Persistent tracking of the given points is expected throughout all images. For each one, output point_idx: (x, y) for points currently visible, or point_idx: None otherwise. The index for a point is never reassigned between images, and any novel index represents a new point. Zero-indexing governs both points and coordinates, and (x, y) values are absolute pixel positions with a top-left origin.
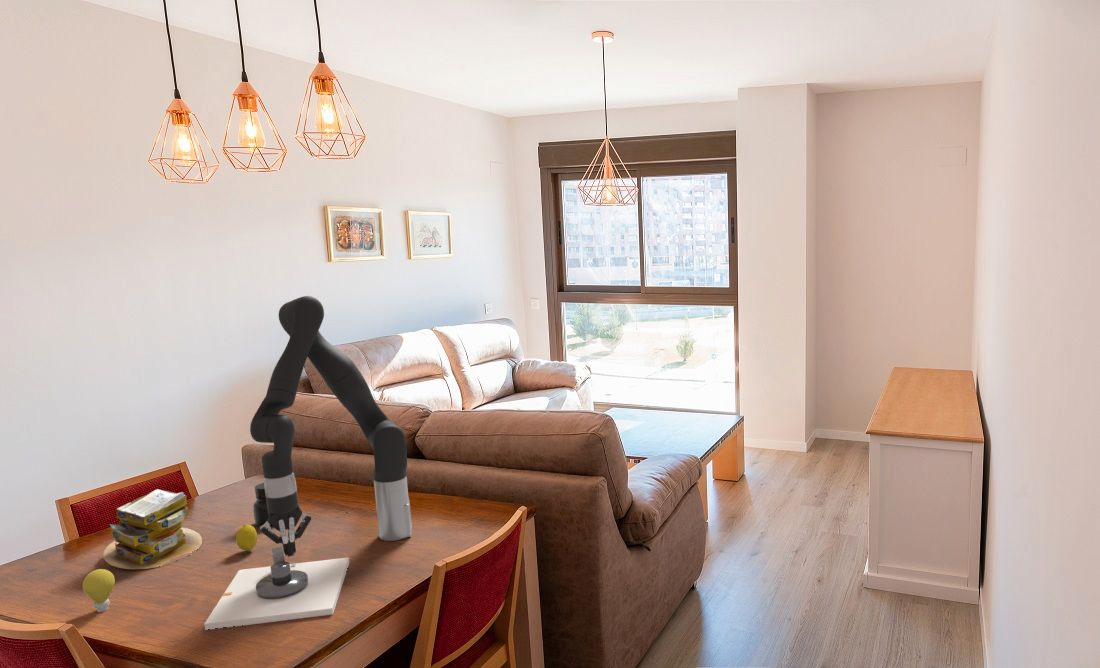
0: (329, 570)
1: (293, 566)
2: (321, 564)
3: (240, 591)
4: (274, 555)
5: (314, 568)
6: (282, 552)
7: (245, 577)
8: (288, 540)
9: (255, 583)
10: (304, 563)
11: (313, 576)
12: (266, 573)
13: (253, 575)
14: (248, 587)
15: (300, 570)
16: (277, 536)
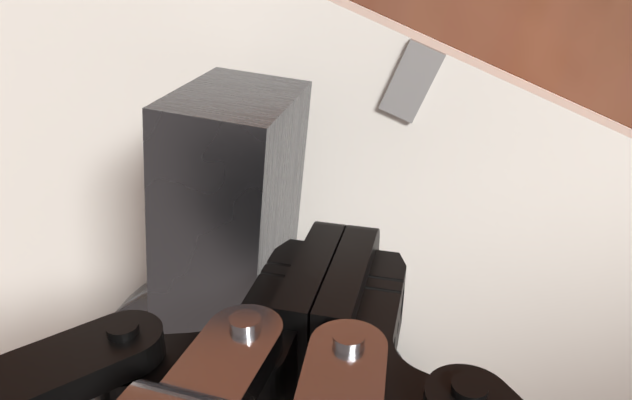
0: (623, 391)
1: (400, 115)
2: (628, 242)
3: (10, 269)
4: (163, 326)
5: (541, 277)
6: None
7: (18, 59)
8: (316, 323)
9: (94, 220)
10: (509, 111)
11: None
12: None
13: (75, 62)
14: (53, 249)
15: (429, 235)
16: (124, 389)
